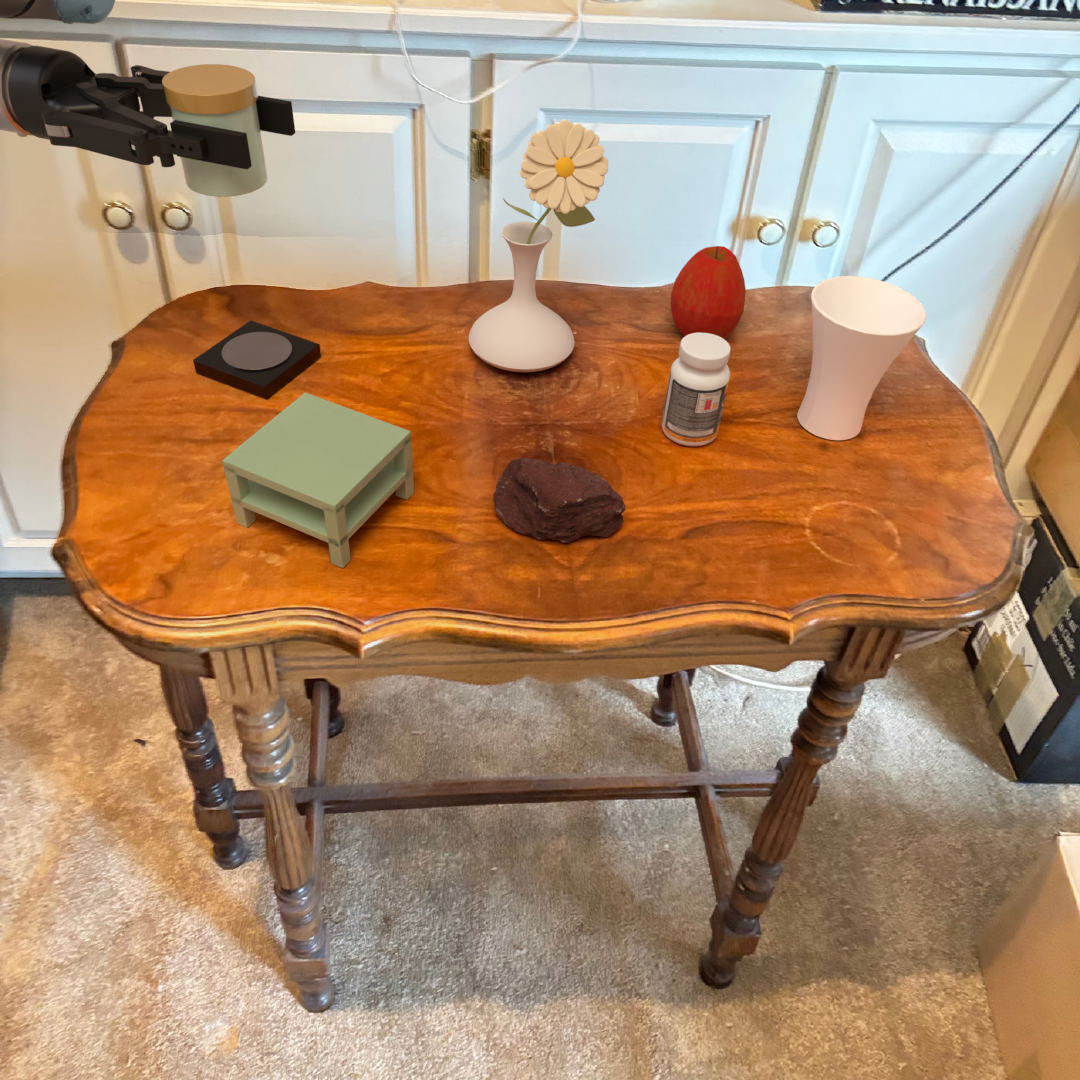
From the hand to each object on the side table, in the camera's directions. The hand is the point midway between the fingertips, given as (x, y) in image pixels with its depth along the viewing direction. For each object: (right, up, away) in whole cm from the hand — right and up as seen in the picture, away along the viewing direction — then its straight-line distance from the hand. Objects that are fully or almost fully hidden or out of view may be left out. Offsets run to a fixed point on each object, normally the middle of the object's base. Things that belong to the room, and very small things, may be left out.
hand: (269, 134), depth 79 cm
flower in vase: (+22, -14, +23) cm, 34 cm away
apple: (+41, -11, +27) cm, 51 cm away
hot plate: (-6, -16, +18) cm, 25 cm away
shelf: (+4, -32, +3) cm, 32 cm away
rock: (+24, -32, +4) cm, 41 cm away
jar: (-5, -2, +4) cm, 7 cm away
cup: (+52, -22, +17) cm, 59 cm away
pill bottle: (+38, -24, +14) cm, 47 cm away
